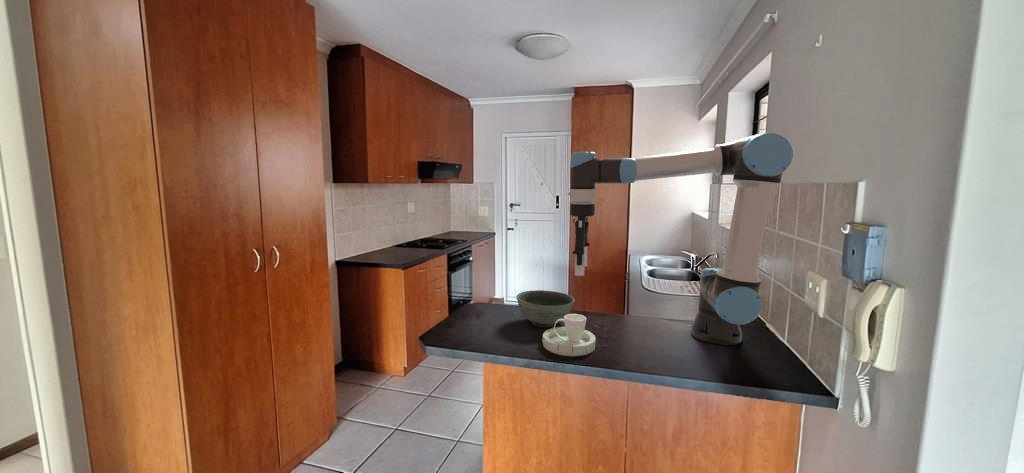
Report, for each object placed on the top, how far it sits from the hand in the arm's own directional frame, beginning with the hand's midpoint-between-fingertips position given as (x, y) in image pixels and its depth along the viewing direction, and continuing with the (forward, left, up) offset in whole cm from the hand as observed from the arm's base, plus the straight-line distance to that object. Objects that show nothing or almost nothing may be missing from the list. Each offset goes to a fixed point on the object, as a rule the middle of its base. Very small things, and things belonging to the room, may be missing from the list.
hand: (581, 270), depth 129 cm
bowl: (+13, -12, -23) cm, 29 cm away
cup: (+2, +5, -22) cm, 23 cm away
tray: (+2, +5, -23) cm, 24 cm away
